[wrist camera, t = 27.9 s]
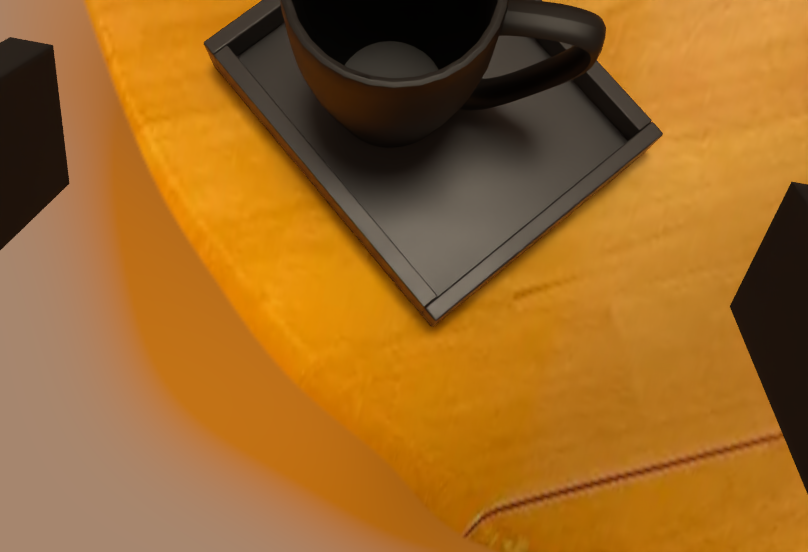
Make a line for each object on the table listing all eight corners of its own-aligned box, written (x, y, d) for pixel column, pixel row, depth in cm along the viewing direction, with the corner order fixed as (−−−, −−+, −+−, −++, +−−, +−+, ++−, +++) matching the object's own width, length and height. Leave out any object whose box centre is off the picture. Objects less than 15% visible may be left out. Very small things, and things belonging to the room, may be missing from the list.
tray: (646, 150, 37) (664, 133, 34) (432, 327, 35) (435, 321, 33) (427, -91, 39) (430, -122, 36) (213, 64, 37) (202, 42, 35)
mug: (536, 211, 35) (593, 137, 26) (284, 153, 35) (251, 58, 26) (568, 51, 37) (633, -74, 27) (327, -4, 37) (309, -147, 27)
